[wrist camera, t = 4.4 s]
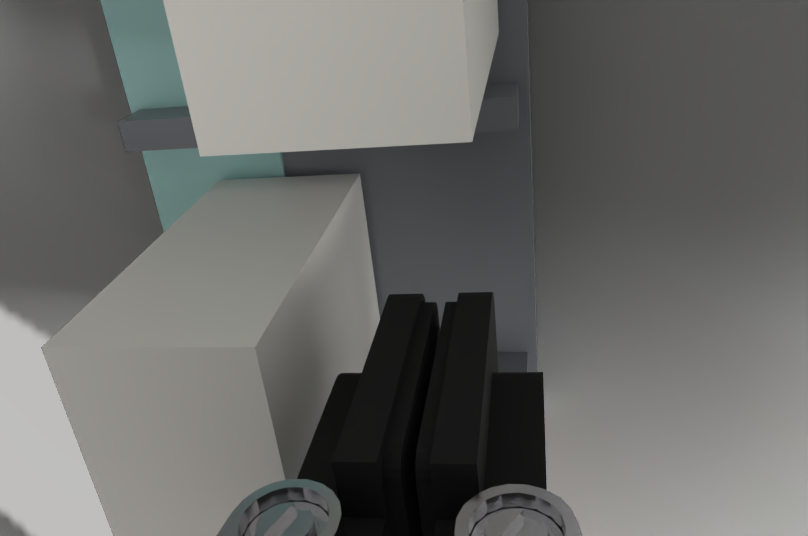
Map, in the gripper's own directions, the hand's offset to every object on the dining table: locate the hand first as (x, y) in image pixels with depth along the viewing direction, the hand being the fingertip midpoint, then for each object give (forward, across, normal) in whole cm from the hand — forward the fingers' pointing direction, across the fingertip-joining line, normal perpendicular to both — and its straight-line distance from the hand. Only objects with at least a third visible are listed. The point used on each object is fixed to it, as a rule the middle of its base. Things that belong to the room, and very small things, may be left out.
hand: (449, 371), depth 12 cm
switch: (+4, +4, 0) cm, 5 cm away
